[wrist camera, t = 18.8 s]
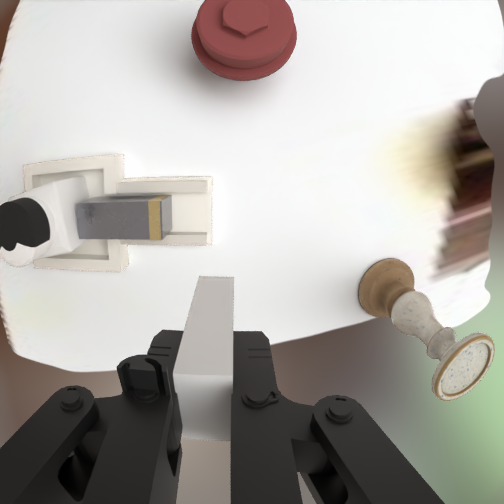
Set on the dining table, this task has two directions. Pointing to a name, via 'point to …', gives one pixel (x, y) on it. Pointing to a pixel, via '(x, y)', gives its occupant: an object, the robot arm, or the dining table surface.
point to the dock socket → (114, 184)
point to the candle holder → (426, 328)
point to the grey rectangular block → (125, 217)
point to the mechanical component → (244, 37)
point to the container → (42, 221)
